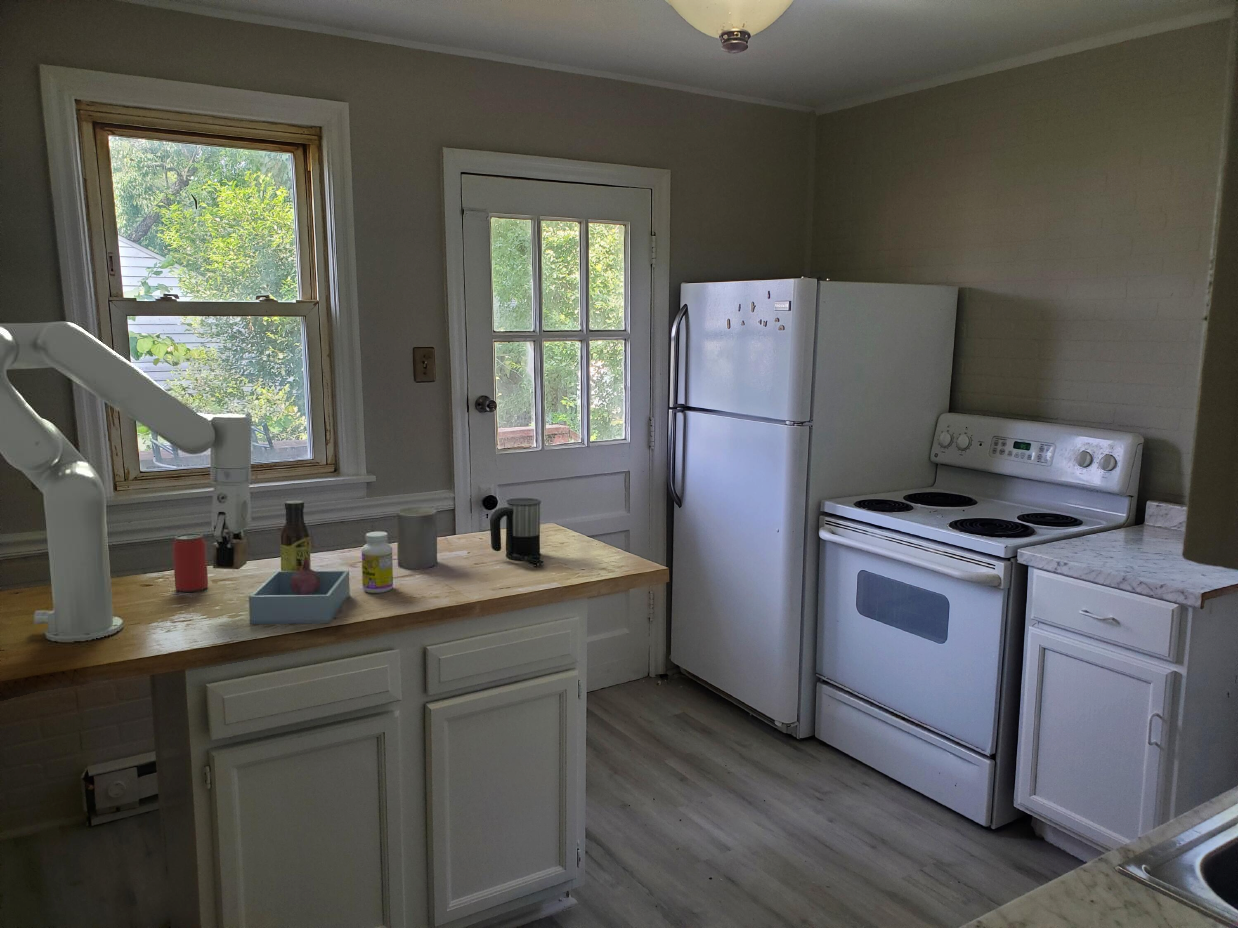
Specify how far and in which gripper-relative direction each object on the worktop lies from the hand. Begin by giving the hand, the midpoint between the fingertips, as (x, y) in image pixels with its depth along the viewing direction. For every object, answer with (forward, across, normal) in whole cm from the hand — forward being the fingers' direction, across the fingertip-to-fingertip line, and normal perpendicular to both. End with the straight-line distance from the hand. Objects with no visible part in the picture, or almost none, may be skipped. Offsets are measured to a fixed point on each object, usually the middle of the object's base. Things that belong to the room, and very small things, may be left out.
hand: (230, 562), depth 179 cm
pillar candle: (+8, +35, -34) cm, 49 cm away
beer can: (+11, +16, +13) cm, 23 cm away
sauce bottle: (+10, +15, -10) cm, 20 cm away
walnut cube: (+1, 0, 0) cm, 1 cm away
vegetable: (+9, +5, -14) cm, 17 cm away
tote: (+10, 0, -14) cm, 17 cm away
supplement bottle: (+9, +14, -28) cm, 32 cm away
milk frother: (+7, +38, -60) cm, 72 cm away
